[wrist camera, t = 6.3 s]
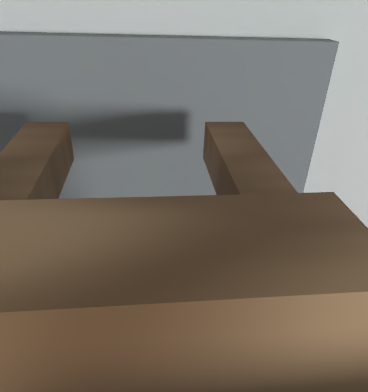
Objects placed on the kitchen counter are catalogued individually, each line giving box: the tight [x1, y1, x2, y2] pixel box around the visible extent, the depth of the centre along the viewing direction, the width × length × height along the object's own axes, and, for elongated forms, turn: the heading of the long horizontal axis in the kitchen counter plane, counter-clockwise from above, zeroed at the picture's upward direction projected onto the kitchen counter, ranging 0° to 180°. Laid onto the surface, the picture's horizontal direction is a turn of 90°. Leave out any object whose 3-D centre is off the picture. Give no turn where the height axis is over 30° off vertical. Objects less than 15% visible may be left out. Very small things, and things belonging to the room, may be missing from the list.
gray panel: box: [0, 32, 339, 199], centre depth 12 cm, size 11×11×1 cm
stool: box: [0, 122, 368, 392], centre depth 8 cm, size 6×8×6 cm
